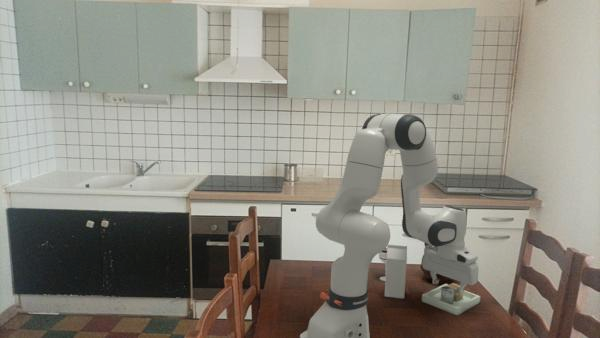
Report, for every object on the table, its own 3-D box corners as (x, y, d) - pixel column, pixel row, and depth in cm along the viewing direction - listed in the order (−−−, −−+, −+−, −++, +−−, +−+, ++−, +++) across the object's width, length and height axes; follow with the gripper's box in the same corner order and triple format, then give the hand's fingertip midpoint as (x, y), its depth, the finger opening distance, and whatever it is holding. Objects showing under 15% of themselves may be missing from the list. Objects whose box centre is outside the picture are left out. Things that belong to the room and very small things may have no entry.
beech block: (456, 301, 157) (457, 290, 157) (445, 297, 161) (446, 286, 160) (463, 298, 160) (464, 286, 159) (451, 294, 164) (452, 282, 163)
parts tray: (457, 315, 149) (457, 308, 148) (421, 301, 159) (422, 294, 159) (479, 302, 159) (480, 296, 159) (445, 289, 169) (445, 283, 169)
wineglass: (393, 276, 181) (395, 248, 180) (394, 282, 175) (396, 254, 173) (377, 274, 182) (378, 247, 180) (377, 281, 176) (379, 252, 174)
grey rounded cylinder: (454, 305, 155) (455, 291, 154) (442, 304, 155) (443, 291, 154) (451, 299, 159) (452, 286, 158) (438, 299, 159) (439, 286, 158)
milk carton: (404, 299, 160) (407, 249, 157) (384, 296, 162) (387, 247, 159) (403, 291, 167) (406, 243, 164) (384, 289, 169) (387, 241, 166)
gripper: (420, 244, 159) (417, 280, 161) (473, 261, 144) (469, 300, 146) (429, 241, 164) (426, 277, 166) (482, 257, 148) (478, 295, 150)
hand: (447, 288), depth 156 cm, fingers open, 8 cm apart
